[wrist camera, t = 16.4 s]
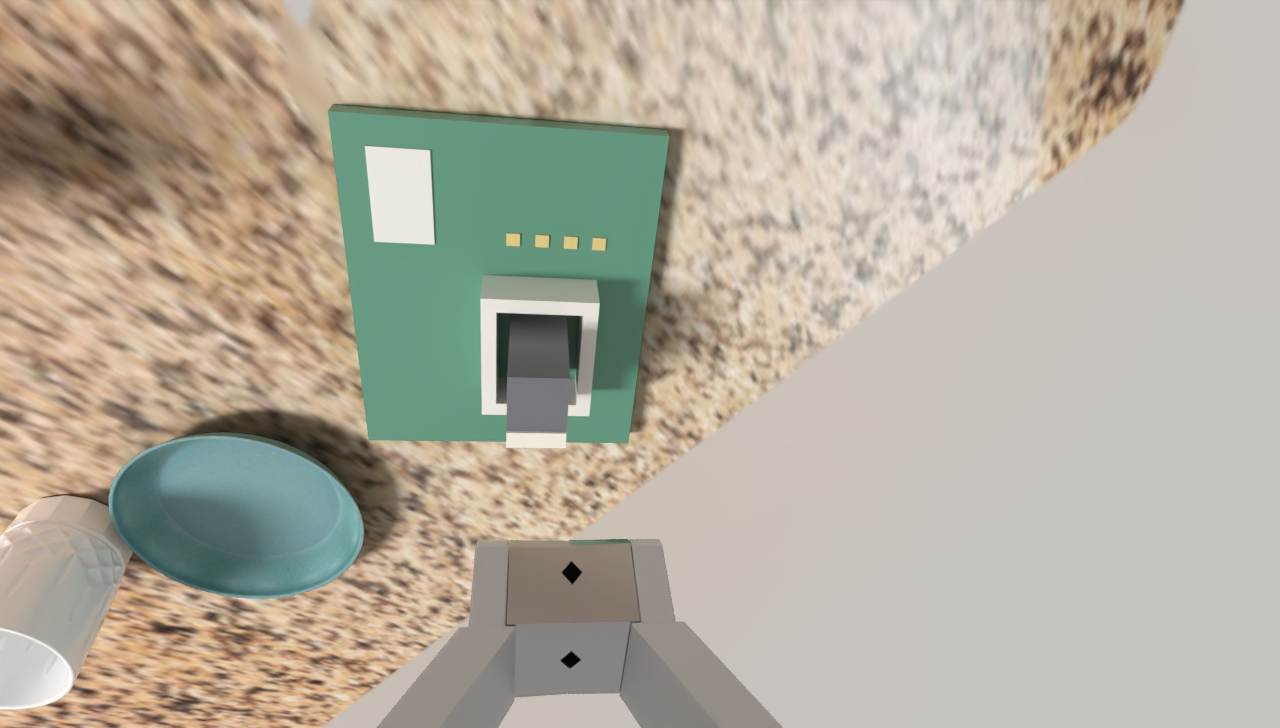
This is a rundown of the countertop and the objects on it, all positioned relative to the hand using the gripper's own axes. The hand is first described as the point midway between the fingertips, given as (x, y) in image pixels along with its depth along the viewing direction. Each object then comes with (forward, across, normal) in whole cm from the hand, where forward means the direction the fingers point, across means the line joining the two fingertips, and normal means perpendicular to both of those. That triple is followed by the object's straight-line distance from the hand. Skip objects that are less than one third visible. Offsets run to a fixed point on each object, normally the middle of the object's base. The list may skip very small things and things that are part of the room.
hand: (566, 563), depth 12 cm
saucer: (+30, +18, +28) cm, 45 cm away
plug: (+28, 0, +14) cm, 31 cm away
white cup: (+29, +29, +31) cm, 52 cm away
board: (+29, +2, +12) cm, 32 cm away
